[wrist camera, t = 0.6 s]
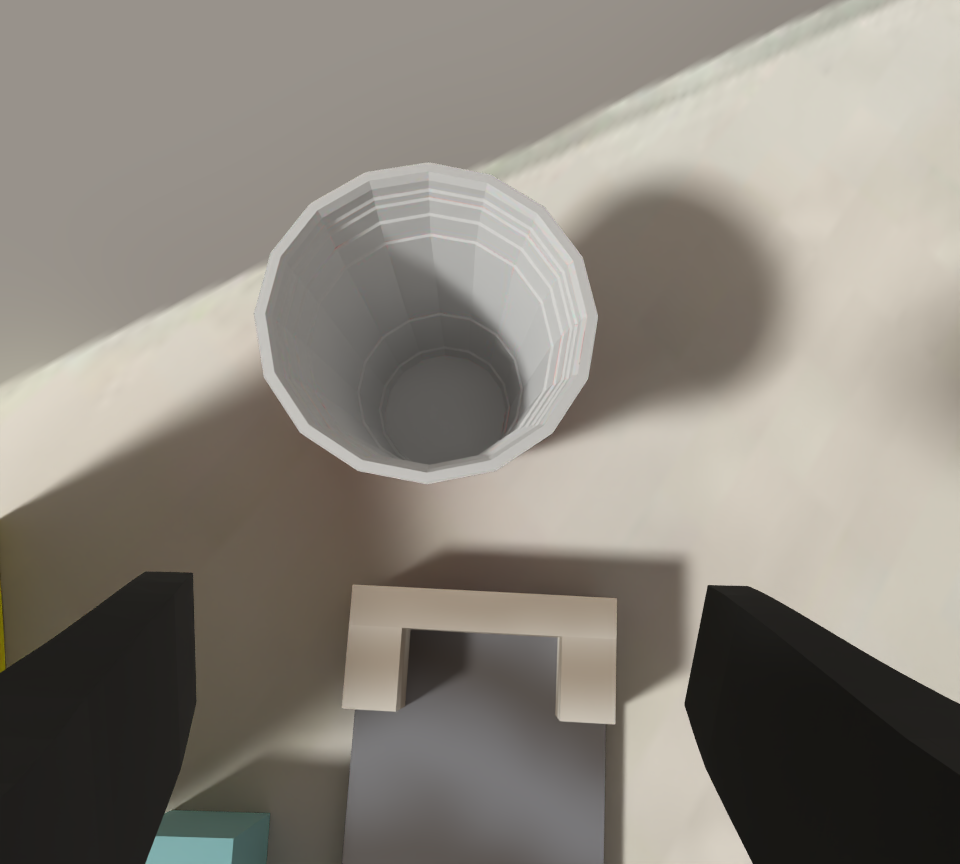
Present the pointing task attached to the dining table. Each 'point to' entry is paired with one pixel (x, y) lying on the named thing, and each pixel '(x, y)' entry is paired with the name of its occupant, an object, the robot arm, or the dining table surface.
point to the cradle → (477, 726)
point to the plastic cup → (426, 323)
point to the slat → (211, 838)
